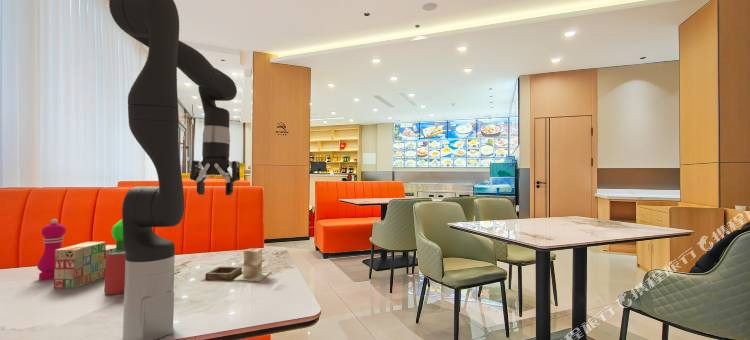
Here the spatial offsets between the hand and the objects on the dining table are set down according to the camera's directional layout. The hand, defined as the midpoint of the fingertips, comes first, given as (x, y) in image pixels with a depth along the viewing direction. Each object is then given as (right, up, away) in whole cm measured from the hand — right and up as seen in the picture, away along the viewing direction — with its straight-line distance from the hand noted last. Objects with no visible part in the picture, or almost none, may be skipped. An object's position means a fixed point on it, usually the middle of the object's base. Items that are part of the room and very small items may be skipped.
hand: (214, 194), depth 98 cm
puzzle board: (+1, -30, +13) cm, 33 cm away
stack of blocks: (-49, -30, +13) cm, 59 cm away
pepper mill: (-63, -30, +13) cm, 71 cm away
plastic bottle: (-35, -30, +12) cm, 48 cm away
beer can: (-30, -30, 0) cm, 42 cm away
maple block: (+6, -29, +13) cm, 33 cm away
